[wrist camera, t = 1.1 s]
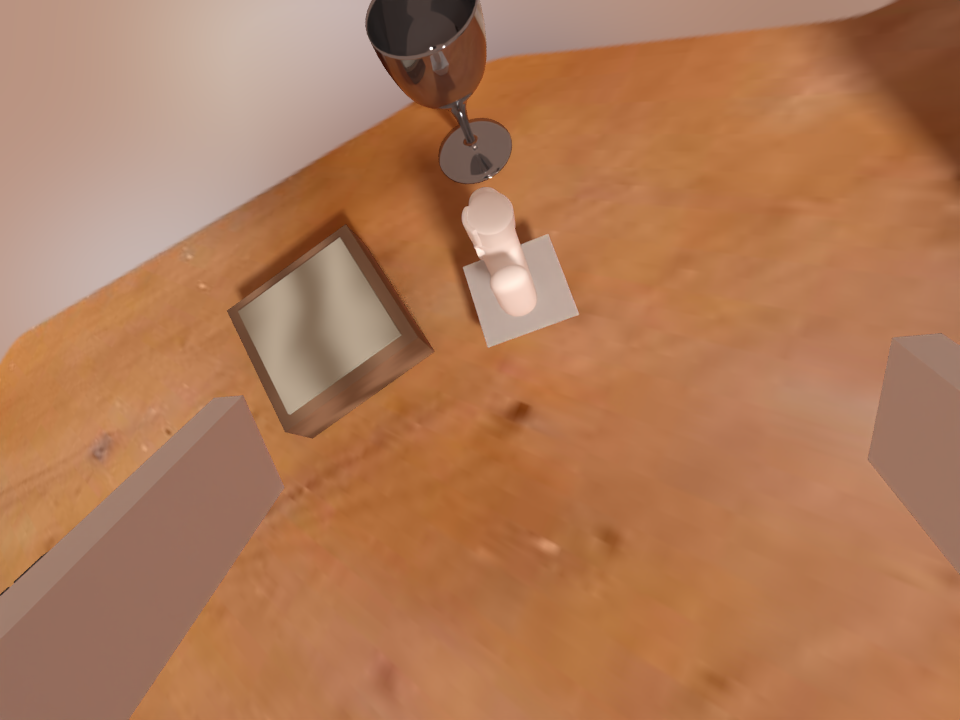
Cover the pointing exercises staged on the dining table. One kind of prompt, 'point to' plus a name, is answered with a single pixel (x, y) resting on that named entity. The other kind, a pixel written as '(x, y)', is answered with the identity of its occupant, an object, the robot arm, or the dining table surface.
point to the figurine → (512, 272)
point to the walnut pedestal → (327, 334)
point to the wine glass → (442, 75)
